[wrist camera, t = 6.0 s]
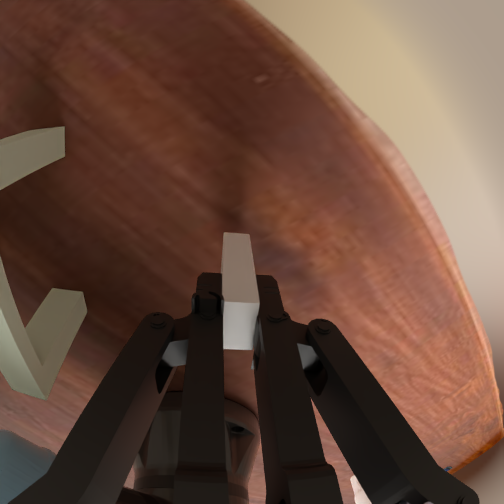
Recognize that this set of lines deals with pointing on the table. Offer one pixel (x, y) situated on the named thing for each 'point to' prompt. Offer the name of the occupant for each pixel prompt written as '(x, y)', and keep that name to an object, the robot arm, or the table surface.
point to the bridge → (57, 301)
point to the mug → (359, 492)
